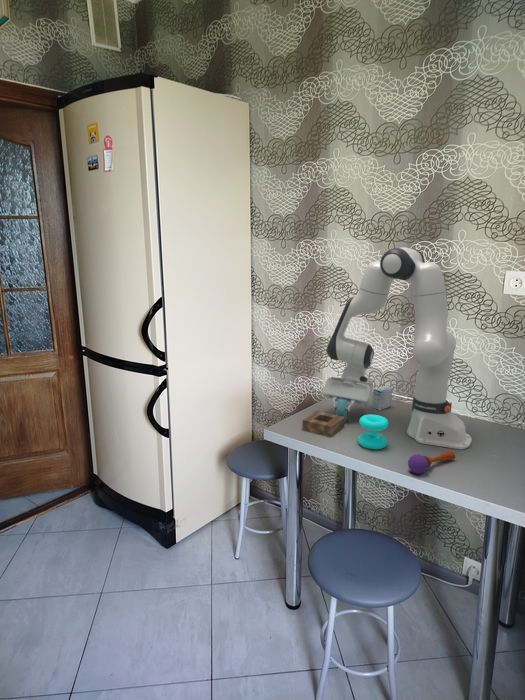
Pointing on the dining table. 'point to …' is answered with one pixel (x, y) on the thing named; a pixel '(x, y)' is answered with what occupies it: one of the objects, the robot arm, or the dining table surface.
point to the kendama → (427, 461)
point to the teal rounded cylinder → (342, 408)
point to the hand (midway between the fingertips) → (341, 409)
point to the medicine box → (382, 397)
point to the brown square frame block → (323, 423)
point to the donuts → (372, 438)
